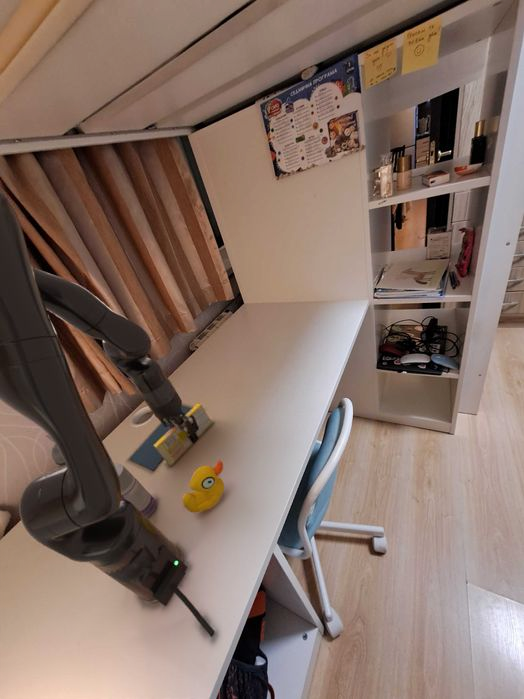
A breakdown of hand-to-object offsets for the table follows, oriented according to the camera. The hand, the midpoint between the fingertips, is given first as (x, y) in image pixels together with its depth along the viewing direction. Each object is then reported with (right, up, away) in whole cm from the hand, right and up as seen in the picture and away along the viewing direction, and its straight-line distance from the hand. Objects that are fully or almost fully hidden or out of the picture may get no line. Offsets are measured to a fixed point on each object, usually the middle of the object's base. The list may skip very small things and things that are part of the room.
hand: (187, 438), depth 82 cm
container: (-7, -13, -12) cm, 19 cm away
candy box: (+1, -2, +1) cm, 2 cm away
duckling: (+10, -10, -15) cm, 20 cm away
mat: (-8, -1, +6) cm, 10 cm away
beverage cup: (-27, -11, +1) cm, 29 cm away
